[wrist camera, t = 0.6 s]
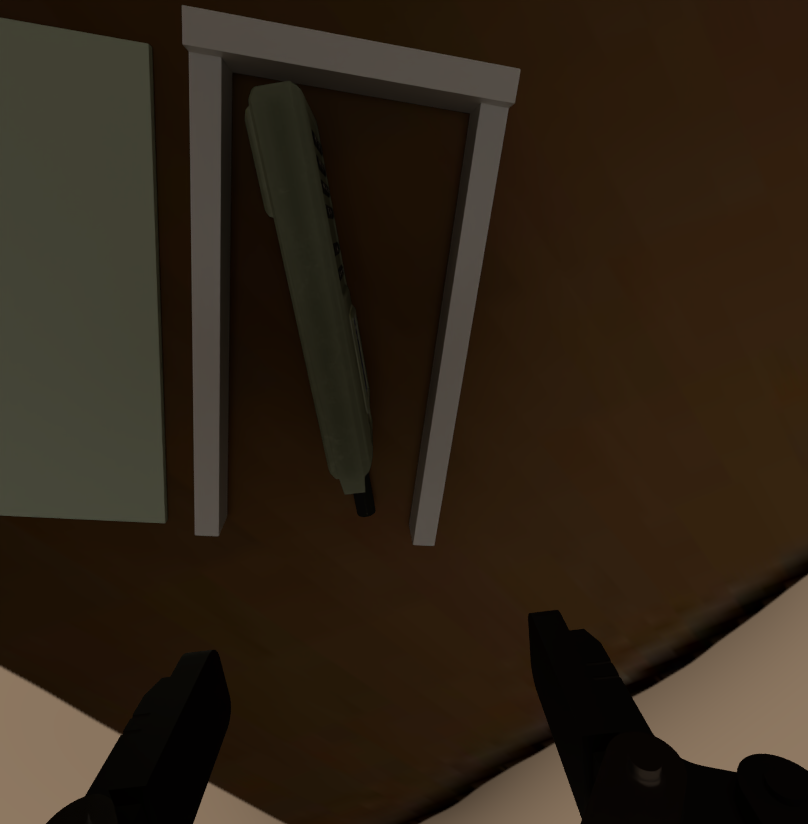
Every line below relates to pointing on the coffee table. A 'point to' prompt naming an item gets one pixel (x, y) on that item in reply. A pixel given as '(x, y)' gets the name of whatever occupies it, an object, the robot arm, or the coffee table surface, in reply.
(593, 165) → the coffee table surface
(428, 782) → the coffee table surface
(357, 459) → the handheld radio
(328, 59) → the white u-shaped frame
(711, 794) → the robot arm
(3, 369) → the green mat
